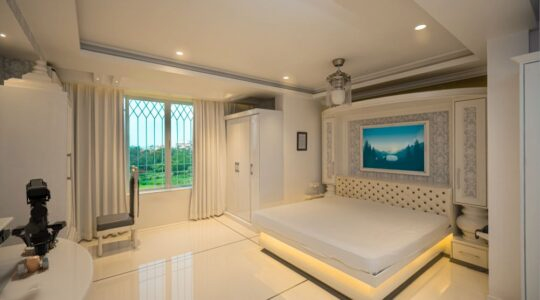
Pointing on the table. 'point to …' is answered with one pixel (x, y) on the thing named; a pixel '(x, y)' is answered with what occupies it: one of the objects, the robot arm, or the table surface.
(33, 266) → the orange-tan rounded capsule
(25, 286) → the table surface
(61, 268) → the table surface
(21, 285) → the table surface
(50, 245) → the alarm clock
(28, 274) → the board
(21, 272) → the clamp jaws
